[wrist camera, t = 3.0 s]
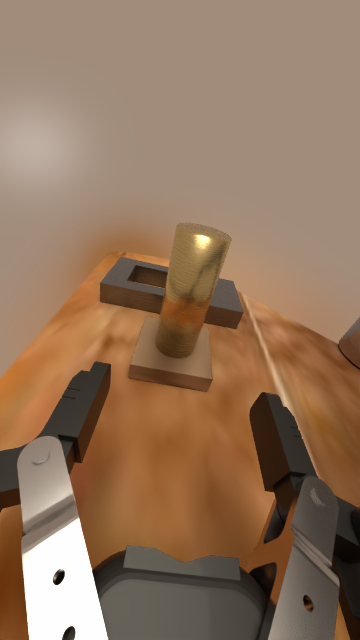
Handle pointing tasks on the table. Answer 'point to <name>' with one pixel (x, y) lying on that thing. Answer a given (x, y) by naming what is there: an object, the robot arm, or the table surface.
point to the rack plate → (149, 298)
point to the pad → (171, 361)
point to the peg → (189, 287)
